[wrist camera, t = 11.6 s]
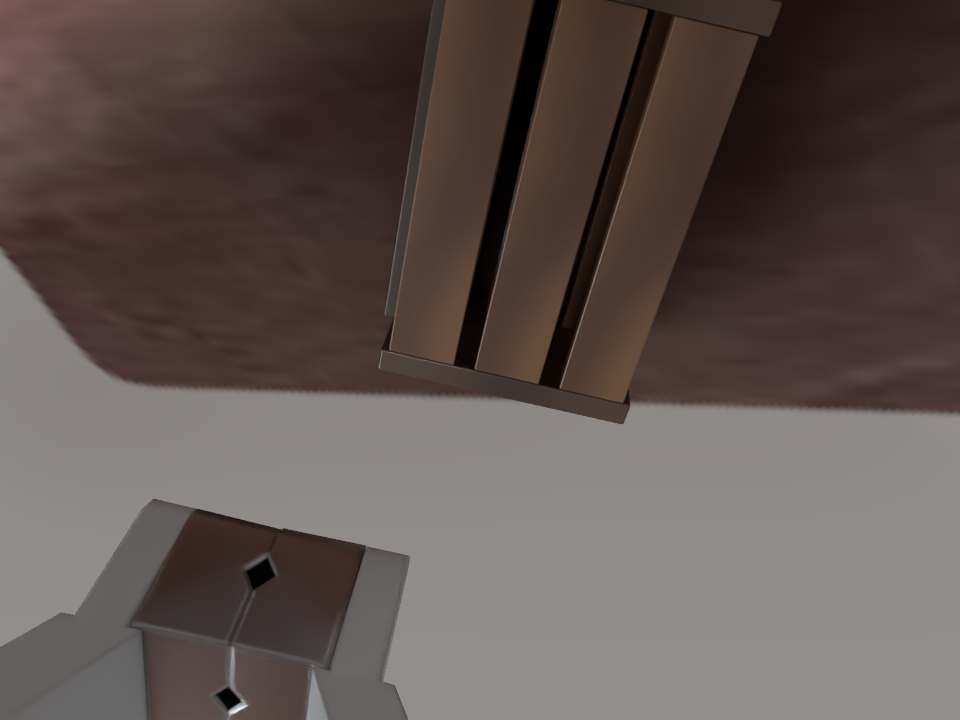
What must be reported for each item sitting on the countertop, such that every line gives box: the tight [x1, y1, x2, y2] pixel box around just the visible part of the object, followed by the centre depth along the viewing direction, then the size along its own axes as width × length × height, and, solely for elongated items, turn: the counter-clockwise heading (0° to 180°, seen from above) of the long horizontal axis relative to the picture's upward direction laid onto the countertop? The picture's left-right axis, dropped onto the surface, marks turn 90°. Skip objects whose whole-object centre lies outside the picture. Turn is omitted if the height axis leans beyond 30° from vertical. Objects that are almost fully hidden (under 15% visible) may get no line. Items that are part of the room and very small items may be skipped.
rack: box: [378, 0, 782, 424], centre depth 31 cm, size 10×16×7 cm, turn 169°
